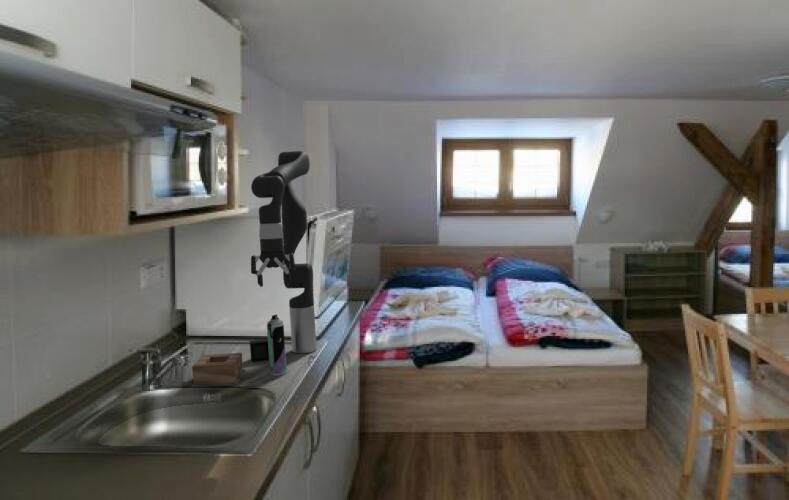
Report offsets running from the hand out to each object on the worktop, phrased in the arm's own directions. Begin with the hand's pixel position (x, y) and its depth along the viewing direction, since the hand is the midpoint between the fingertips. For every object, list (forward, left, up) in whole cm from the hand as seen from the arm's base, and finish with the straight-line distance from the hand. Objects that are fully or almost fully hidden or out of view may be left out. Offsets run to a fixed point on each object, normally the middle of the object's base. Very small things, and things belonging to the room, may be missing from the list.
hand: (274, 285), depth 202 cm
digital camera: (-17, -7, -30) cm, 35 cm away
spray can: (+1, 0, -30) cm, 30 cm away
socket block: (+4, -19, -30) cm, 36 cm away
